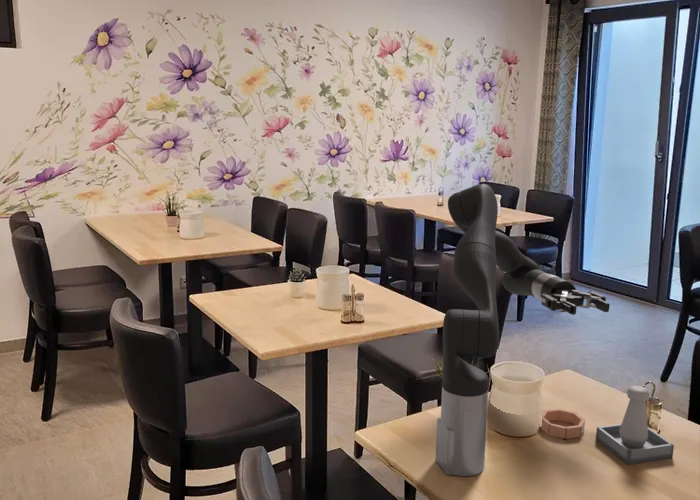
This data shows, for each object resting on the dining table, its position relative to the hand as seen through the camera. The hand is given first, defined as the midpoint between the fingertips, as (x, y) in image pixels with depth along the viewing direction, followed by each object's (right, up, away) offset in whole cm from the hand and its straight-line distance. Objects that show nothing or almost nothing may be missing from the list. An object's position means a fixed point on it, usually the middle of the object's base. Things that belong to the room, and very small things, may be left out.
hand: (591, 309), depth 155 cm
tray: (+6, -30, -7) cm, 31 cm away
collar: (-6, -28, +1) cm, 28 cm away
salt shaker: (+6, -29, -7) cm, 30 cm away
